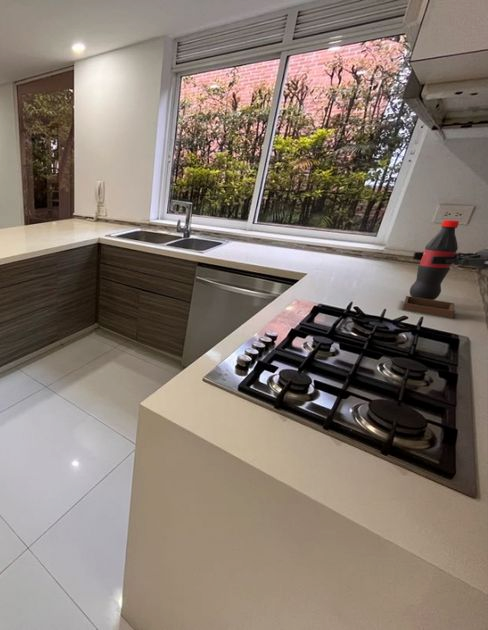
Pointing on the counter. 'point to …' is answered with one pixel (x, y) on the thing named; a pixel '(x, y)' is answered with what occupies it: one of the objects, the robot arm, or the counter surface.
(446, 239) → the cola bottle
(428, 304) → the bottle tray
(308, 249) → the counter surface
